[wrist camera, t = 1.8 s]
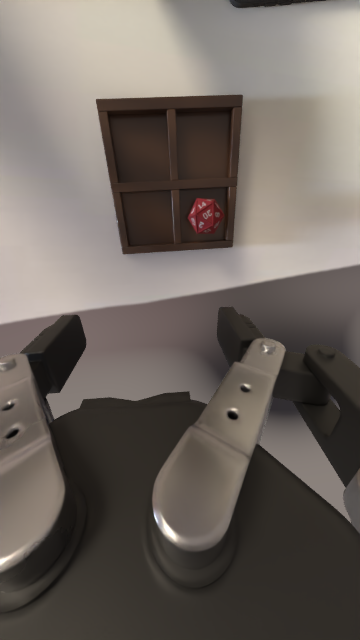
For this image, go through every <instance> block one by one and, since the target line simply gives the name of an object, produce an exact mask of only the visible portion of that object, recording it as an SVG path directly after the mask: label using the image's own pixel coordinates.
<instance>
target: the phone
mask: <svg viewBox="0 0 360 640" xmlns="http://www.w3.org/2000/svg"><path fill="white" fill-rule="evenodd" d="M313 1H324V0H230V2H231V4H232V5H233V6H235V7H237V8H247V7H258V6H265V7H266V6H275V5H290V4H291V3H302V2H313Z"/></svg>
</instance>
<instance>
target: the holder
mask: <svg viewBox="0 0 360 640" xmlns="http://www.w3.org/2000/svg"><path fill="white" fill-rule="evenodd" d="M242 100H243V95H218V96H186V97H153V98H121V99H96V103H97V109H98V115H99V121H100V126H101V132H102V138H103V144H104V149H105V155H106V161H107V166H108V172H109V178H110V183H111V190H112V195H113V201H114V207H115V212H116V218H117V224H118V229H119V235H120V241H121V247H122V252H123V254H135V253H150V252H166V251H181V250H197V249H212V248H228V247H233V233H234V218H235V204H236V189H237V187H236V186H237V174H238V159H239V145H240V130H241V115H242ZM197 198H201V199H215V201H216V202H217V204H218V205H219V207H220V209H221V210H222V212H223V213H224V217H223V219H222V221H221V222H220V224H219V226H218V228H217V229H216V231H215V233H214V234H197V233H196V231H195V229H194V228H193V226H192V224H191V222H190V221H189V219H188V216H189V214H190V212H191V210H192V207H193V205H194V203H195V201H196V199H197Z"/></svg>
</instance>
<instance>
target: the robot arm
mask: <svg viewBox="0 0 360 640" xmlns="http://www.w3.org/2000/svg"><path fill="white" fill-rule="evenodd" d="M217 337H218V341H219V344H220V346H221V348H222V350H223V353H224V355H225V357H226V360H227V362H228V364H229V367H230V370H229V371H228V373H227V374H226V376H225V378H224V379H223V381H222V382H221V384H220V386H219V387H218V389H217V390H216V392H215V393H214V395H213V397H212V398H211V400H210V401H209V403H208V405H207V404H205V403H202V402H199V401H195V400H190V394H189V392H177V393H164V394H160V395H157V396H153V397H149V398H146V399H142V400H139V401H131V400H124V399H117V398H97V399H84V400H83V401H82V404H81V406H80V408H79V409H77V410H74V411H71V412H68V413H67V414H64V415H62V416H60V417H59V418H57V419H55V420H54V417H53V415H52V412H51V409H50V406H49V404H48V401H47V399H46V396H47V394H49V393H60V391H61V389H62V388H63V386H64V384H65V383H66V381H67V379H68V377H69V376H70V374H71V372H72V371H73V369H74V367H75V365H76V364H77V362H78V360H79V359H80V357H81V355H82V354H83V351H84V350H85V348H86V338H85V334H84V331H83V327H82V324H81V320H80V317H79V316H78V315H63V316H61V317H60V318H59V319H58V320H57V321H56V322H55V323H54V324H53V325H51V326H49V327H48V328H46V329H44V330H43V331H42V332H41V333H40V334H39V336H37V337H36V338H35V339H34V341H32V342H31V343H30V344H29V345H28V346H26V348H24V349H23V350H22V351H21V352H20V353H16V354H10V355H6V356H4V357H1V358H0V640H360V368H359V367H358V366H357V365H355V364H354V363H353V362H352V361H351V360H350V359H348V358H347V357H346V356H345V355H344V354H342V353H341V352H340V351H338V350H336V349H334V348H331V347H328V346H324V345H310V346H308V347H307V348H306V352H305V354H302V353H294V352H288V351H286V350H285V347H284V346H283V345H282V344H281V343H279V342H277V341H275V340H272V339H266V338H265V337H264V336H263V335H262V333H261V332H260V331H259V330H258V329H257V328H256V326H255V325H254V324H253V323H252V321H251V320H250V319H249V318H248V317H246V316H244V315H242V314H240V315H239V314H238V313H237V312H236V310H235V309H234V308H233V307H220V308H219V312H218V326H217ZM331 395H332V396H333V397H334V399H335V400H336V401H337V403H338V404H339V407H340V410H339V409H338V408H337V407H336V405H335V404H334V403H333V402H332V400H331V399H330V398H331ZM273 397H275V398H280V399H285V400H290V401H293V403H294V405H295V406H296V408H297V410H298V411H299V413H300V414H301V416H302V418H303V419H304V421H305V422H306V424H307V426H308V427H309V429H310V430H311V432H312V434H313V435H314V437H315V439H316V440H317V442H318V444H319V445H320V447H321V448H322V450H323V452H324V453H325V455H326V456H327V458H328V460H329V461H330V463H331V465H332V466H333V468H334V469H335V471H336V473H337V474H338V476H339V478H340V479H341V481H342V482H343V484H344V486H345V487H346V489H345V490H344V494H343V500H344V505H345V508H346V510H347V512H348V515H349V517H350V519H351V523H350V522H349V521H348V520H347V519H346V518H345V517H344V516H343V515H342V514H341V513H340V512H339V511H337V510H336V509H335V508H334V507H333V506H331V504H329V503H328V502H327V501H326V500H325V499H323V498H322V497H321V496H320V495H319V494H317V493H316V492H315V491H314V490H312V489H311V488H310V487H309V486H308V485H307V484H305V483H304V482H303V481H302V480H301V479H299V478H298V477H297V476H296V475H295V474H293V473H292V472H291V471H290V470H289V469H287V468H286V467H285V466H284V465H283V464H281V463H280V462H279V461H278V460H277V459H276V458H274V457H273V456H272V455H271V454H269V453H268V452H267V451H266V450H265V449H264V448H262V447H261V446H260V445H259V444H260V441H261V437H262V433H263V430H264V427H265V423H266V420H267V417H268V413H269V410H270V407H271V403H272V400H273Z"/></svg>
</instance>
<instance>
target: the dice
mask: <svg viewBox="0 0 360 640" xmlns="http://www.w3.org/2000/svg"><path fill="white" fill-rule="evenodd" d="M223 217H224V213H223V212H222V210H221V209H220V207H219V205H218V204H217V202H216V201H215V199H201V198H197V199H196V201H195V203H194V205H193V207H192V210H191V212H190V214H189V216H188V219H189V221H190V222H191V224H192V226H193V228H194V229H195V231H196V233H197V234H214V233H215V231H216V229H217V228H218V226H219V224H220V222H221V221H222V219H223Z"/></svg>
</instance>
